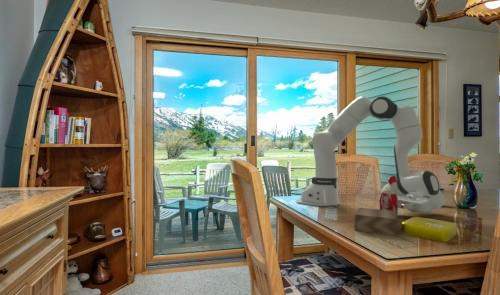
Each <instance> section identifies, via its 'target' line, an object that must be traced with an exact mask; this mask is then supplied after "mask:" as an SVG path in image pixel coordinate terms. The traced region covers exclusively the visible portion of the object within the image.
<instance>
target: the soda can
mask: <svg viewBox="0 0 500 295" xmlns="http://www.w3.org/2000/svg"><path fill="white" fill-rule="evenodd" d="M379 197H380V203H379V210H391V211H396V221H397V220H398V213H399V212H398V209H399V207H398V197H397V195H396V192H391V191H382V194H381V195H380V194H379Z"/></svg>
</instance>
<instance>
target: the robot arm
mask: <svg viewBox="0 0 500 295" xmlns="http://www.w3.org/2000/svg"><path fill="white" fill-rule="evenodd" d="M368 117H373V118H374V119H376V120H379V121H383V122H385V121H386V122H387V121H391V122H392V124H393V127H394V130H395V134H396V135H395V136H396V139H395V140H396V141H395V144H394V145H393V153H394V154H393V155H394V162H395V163H394V164H395V170H396V180H397V188H398V189H399V191H400V192H402V193H403V194H405V195H406V196H405V197H401V196H397V197H398V208H401V209H404V210H405V209H406V210H408V211H409V212H412V213H428V214H432V213H434V210H437V209H440V208H441V207H443V205H444V204H445V201H446V199H445V195H444V193H443V194H442V193H441V192H440V191H439V186H440V181H439V179H438V177H437V176H436V175H435V174H434V173H433V172H432V171H430V170H422V171H417V172H413V173H412V172H411V173H410V171H409V161H408V155H409V153H410V152H411V151H412V150H413V149H414V148H416V147H417V146H418V145H419V144H420V143H421V141H422V139H423V137H424V136H423V129H422V125H421V123H420V120H419V117H418V116H417V113H416V111H415V109H414V108H413V107H412V106H410V105H400V106H398V105H397V104H396V103H395V102H394V101H393V100H391V98H389V97H388V96H381V95H379V96H377V97H375V98H373V99H372V100H370V99H369V98H367V97H365V96H359V97H357V98H355V99H354V100H353V101H352V102H350V103H349V104H348V105H347V106H346V107H345V108H343V110H342V111H341V112H340V113H338V115H337V116H336V117H335V118H334V119H333V121H332V122H331V123H330V124H329V126H328V127H327V129H326V130H322V131H319V132H316V133H315V134H314V135H313V136H312V138H311V145H312V146H313V147H312V148H313V155H314V161H315V168H314V169H315V174H314V177H312V178H311V184H309V185H308V186H307V187H305V188H303V190H302V192H301V196H300V198H297V200H296V203H297V204H302V205H309V206H310V205H311V206H318V207H329V206H330V207H331V206H338V205H339V204H340V202H339V197H338V177H337V160H336V154H335V153H336V152H335V150H336V149H337V148H339V146H340V145H342V143H343V142H344V140H346V138H347V137H348V136H349V135H350V134H351V133H352V132H353V131H354V130H355V129H356V128H357V127H358V126H359V125H360V124H362V122H363V121H364V120H365V119H367V118H368Z"/></svg>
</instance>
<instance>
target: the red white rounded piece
mask: <svg viewBox="0 0 500 295" xmlns="http://www.w3.org/2000/svg"><path fill="white" fill-rule="evenodd" d="M387 180H388V183H387V184H385V185H384V186H383V187H382V189H380V190H379V196H378V203H379V204H380V195H381V194H382V191H391V192H396V195H397V196H401V197H405V196H406V195H405V194H403V193H402V192H400V191H399V189H398V188H397V177H395V175H391V176H389V178H388V179H387Z"/></svg>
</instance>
